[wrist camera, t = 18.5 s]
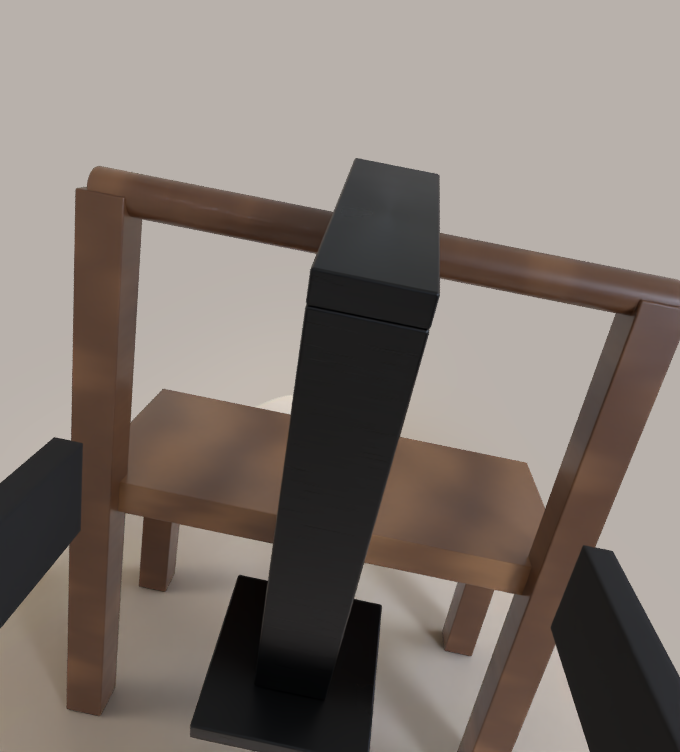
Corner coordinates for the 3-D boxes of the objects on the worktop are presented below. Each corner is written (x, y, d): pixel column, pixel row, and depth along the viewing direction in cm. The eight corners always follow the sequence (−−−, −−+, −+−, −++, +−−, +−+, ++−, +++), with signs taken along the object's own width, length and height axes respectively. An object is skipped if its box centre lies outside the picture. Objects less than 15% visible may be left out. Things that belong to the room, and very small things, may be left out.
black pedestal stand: (364, 775, 24) (540, 360, 12) (189, 738, 24) (194, 290, 12) (384, 549, 33) (497, 185, 21) (257, 523, 33) (298, 145, 21)
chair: (66, 709, 27) (75, 164, 19) (149, 568, 37) (180, 158, 28) (492, 800, 27) (701, 287, 18) (468, 635, 36) (601, 240, 28)
